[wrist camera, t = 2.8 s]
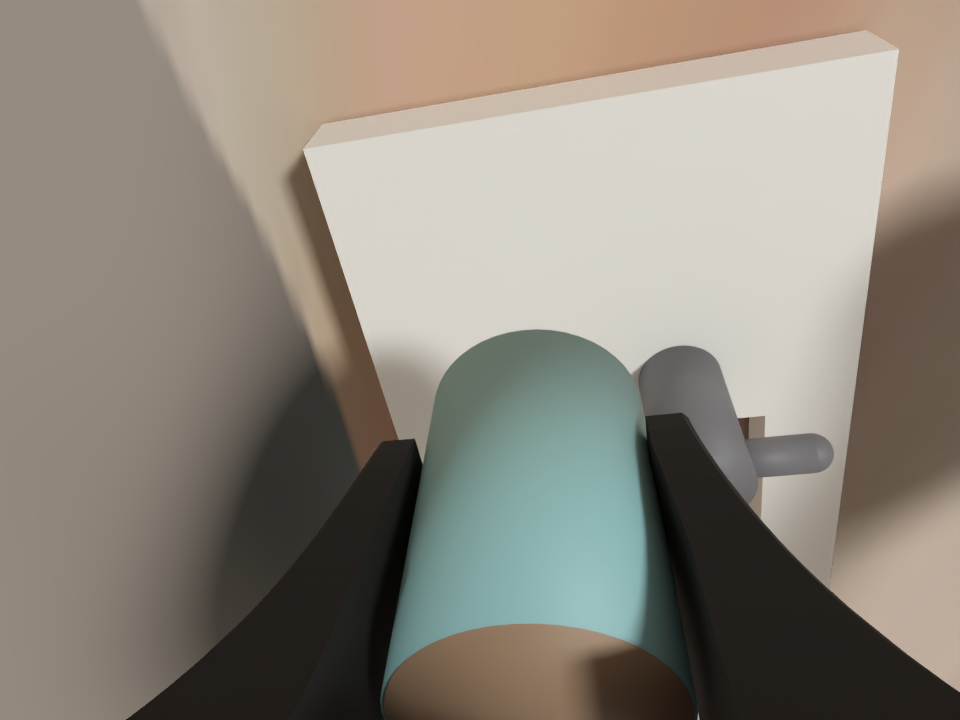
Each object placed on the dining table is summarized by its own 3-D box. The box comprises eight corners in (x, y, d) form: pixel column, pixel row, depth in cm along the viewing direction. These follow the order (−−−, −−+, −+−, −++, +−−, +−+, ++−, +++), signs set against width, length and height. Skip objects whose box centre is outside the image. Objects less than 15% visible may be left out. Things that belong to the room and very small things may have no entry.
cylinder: (636, 317, 13) (698, 616, 8) (645, 482, 15) (698, 794, 10) (413, 341, 13) (342, 632, 8) (454, 496, 16) (417, 798, 11)
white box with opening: (866, 30, 18) (1003, 110, 13) (810, 565, 29) (870, 727, 24) (322, 124, 20) (243, 225, 15) (464, 587, 31) (449, 740, 26)
